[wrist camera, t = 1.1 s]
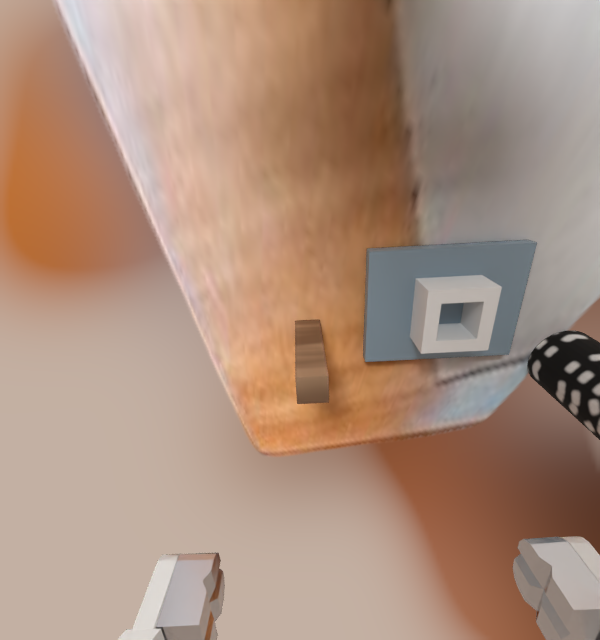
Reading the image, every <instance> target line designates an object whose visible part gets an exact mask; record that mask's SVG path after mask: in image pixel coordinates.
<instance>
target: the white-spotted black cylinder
mask: <svg viewBox="0 0 600 640" xmlns="http://www.w3.org/2000/svg"><path fill="white" fill-rule="evenodd" d="M528 371H529V374H530V376H531V377H532V378H533V379H534V380H535V381H536V382H537V383H538V384H539V385H540V386H542V387H543V388H544V389H545V390H546V391H547V392H548V393H549V394H550V395H551V396H552V397H554V398H555V399H556V400H557V401H558V402H559V403H560V404H561V405H562V406H564V407H565V408H566V409H567V410H568V411H569V412H570V413H571V414H572V415H573V416H574V417H576V418H577V419H578V420H579V421H580V422H581V423H582V424H583V425H584V426H585V427H586V428H587V429H588V430H590V431H591V432H592V433H593V434H594V435H595V436H596V437H597V438H598V439H599V440H600V343H599V342H598V341H596V340H594V339H593V338H591V337H589V336H588V335H586V334H584V333H582V332H579V331H563V332H559V333H556V334H554V335H551V336H550V337H548V338H546V339H545V340H543V341H542V342H541V343H540V344H539V345H538V346H537V347H536V348H535V349H534V351H533V352H532V353H531V356H530V358H529V361H528Z"/></svg>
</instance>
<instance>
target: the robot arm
mask: <svg viewBox="0 0 600 640" xmlns="http://www.w3.org/2000/svg"><path fill="white" fill-rule="evenodd" d="M518 549H519V551H520V552H521V554H520V555H519V556H518V557H516V558H515V559H514V563H513V571H514V578H515V581H516V584H517V586H518V589H519V591H520V593H521V595H522V597H523V598H524V600H525V601H526V602H527V603H528V604H529V605H531V606H532V607H533V608H534V609H535V610H536V622H537V624H538V626H539V628H540V630H541V632H542V633H543V635H544V637H545V639H546V640H600V555H599V554H598V553H597V552H596V551H595V549H594V548H593V547H592V545H591V544H590V543H589V542H588V541H587V540H585V539H584V538H583V537H578V536H574V537H549V538H533V539H523V540H521V541H520V542H519V545H518ZM220 561H221V560H220V556H219V553H198V554H197V553H196V554H166V555H162V556H161V557H160V559H159V560H158V562H157V564H156V567H155V569H154V572H153V575H152V578H151V580H150V583H149V585H148V589H147V591H146V594H145V597H144V599H143V602H142V604H141V607H140V610H139V612H138V615H137V618H136V620H135V623H134V626H133V628H132V629H129V630H126V631H125V632H124V633H123V634H122V635H121V636H120V637H119V639H118V640H217V630H216V626H215V621H216V620H217V618H218V617H219V616H220V614H221V612H222V606H223V600H224V586H225V585H224V574H223V571H222V570H221V569H219V566H220Z"/></svg>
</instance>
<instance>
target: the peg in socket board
mask: <svg viewBox="0 0 600 640" xmlns="http://www.w3.org/2000/svg"><path fill="white" fill-rule="evenodd" d="M536 245H537V243H536V242H533V241H530V240H515V241H497V242H478V243H460V244H441V245H423V246H404V247H386V248H367V255H366V284H365V313H364V343H363V357H364V360H365V362H374V361H393V360H413V359H432V358H452V357H471V356H491V355H509V352H510V348H511V344H512V341H513V337H514V333H515V329H516V325H517V321H518V317H519V313H520V309H521V305H522V301H523V297H524V293H525V289H526V285H527V281H528V277H529V273H530V269H531V265H532V261H533V257H534V253H535V249H536Z"/></svg>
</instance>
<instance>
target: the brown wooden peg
mask: <svg viewBox="0 0 600 640" xmlns="http://www.w3.org/2000/svg"><path fill="white" fill-rule="evenodd" d="M295 378H296V393H297V404H307V403H327V402H329V376H328V370H327V363H326V357H325V351H324V344H323V338H322V332H321V325H320V320H302V321H295Z"/></svg>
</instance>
